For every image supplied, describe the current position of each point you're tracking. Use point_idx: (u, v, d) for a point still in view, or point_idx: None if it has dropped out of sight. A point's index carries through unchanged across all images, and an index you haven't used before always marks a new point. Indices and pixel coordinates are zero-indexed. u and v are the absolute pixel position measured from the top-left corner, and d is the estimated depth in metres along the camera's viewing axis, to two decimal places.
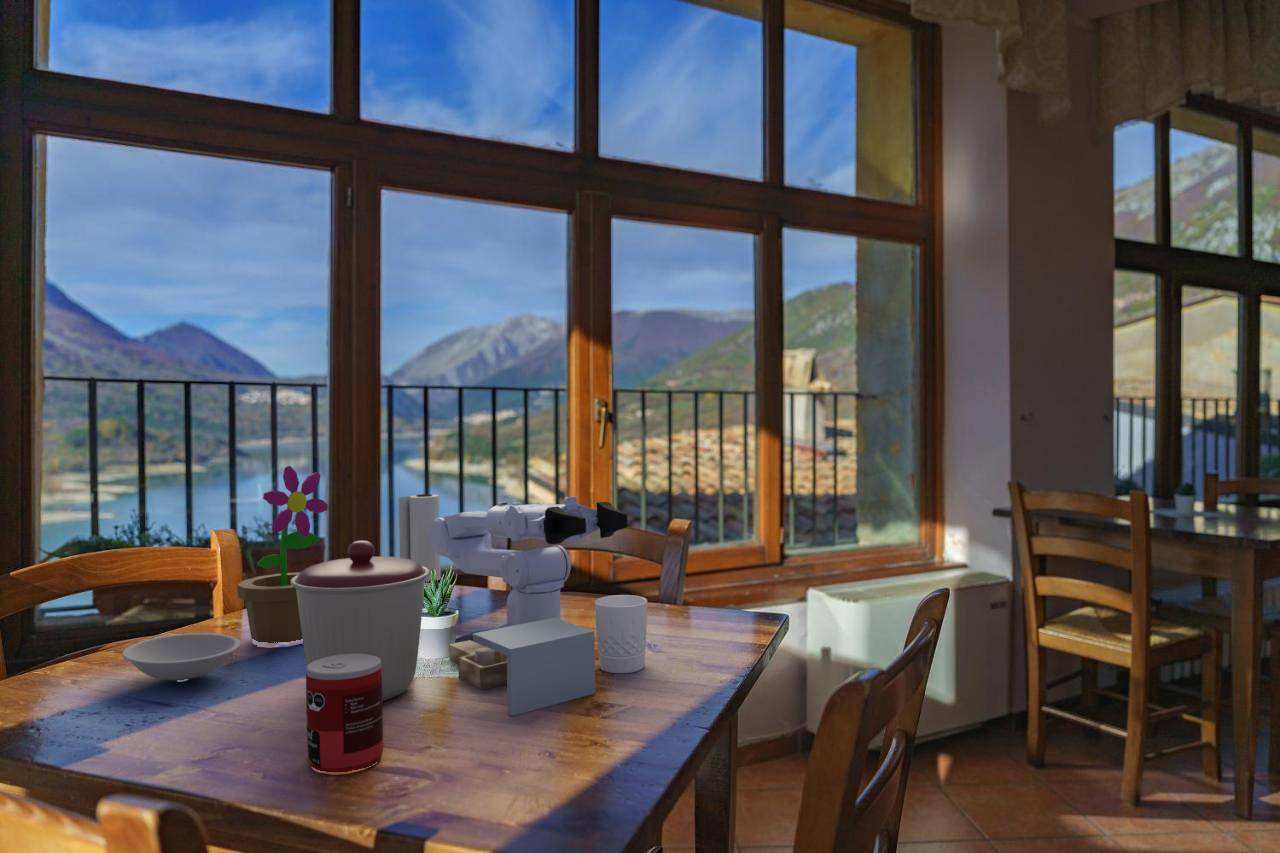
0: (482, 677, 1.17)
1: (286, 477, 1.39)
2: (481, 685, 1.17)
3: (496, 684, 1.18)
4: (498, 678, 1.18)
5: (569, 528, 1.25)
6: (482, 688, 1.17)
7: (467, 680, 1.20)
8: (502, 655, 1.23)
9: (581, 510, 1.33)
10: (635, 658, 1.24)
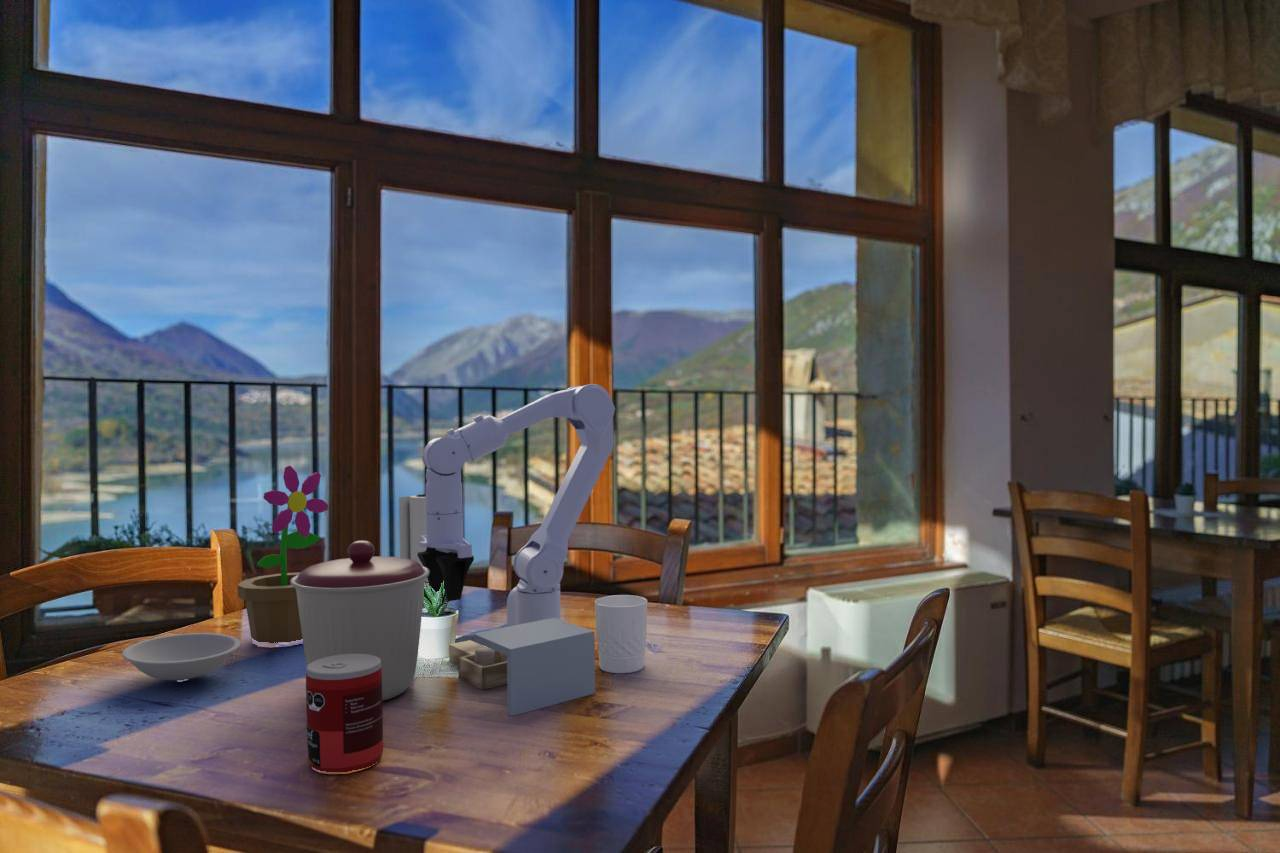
0: (482, 677, 1.17)
1: (286, 477, 1.39)
2: (481, 685, 1.17)
3: (496, 684, 1.18)
4: (498, 678, 1.18)
5: None
6: (482, 688, 1.17)
7: (467, 680, 1.20)
8: (502, 655, 1.23)
9: None
10: (635, 658, 1.24)
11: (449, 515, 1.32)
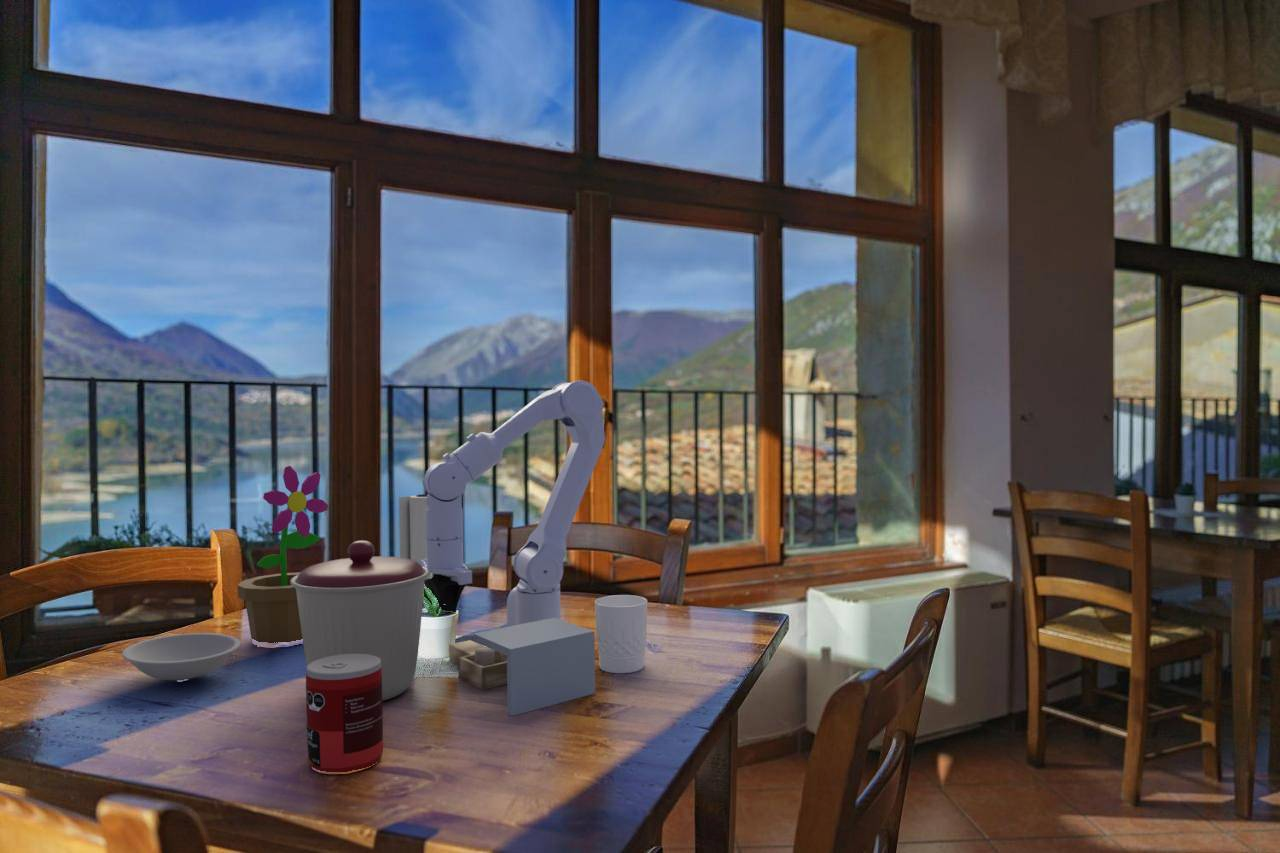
0: (482, 677, 1.17)
1: (286, 477, 1.39)
2: (481, 685, 1.17)
3: (496, 684, 1.18)
4: (498, 678, 1.18)
5: None
6: (482, 688, 1.17)
7: (467, 680, 1.20)
8: (502, 655, 1.23)
9: None
10: (635, 658, 1.24)
11: (449, 541, 1.32)
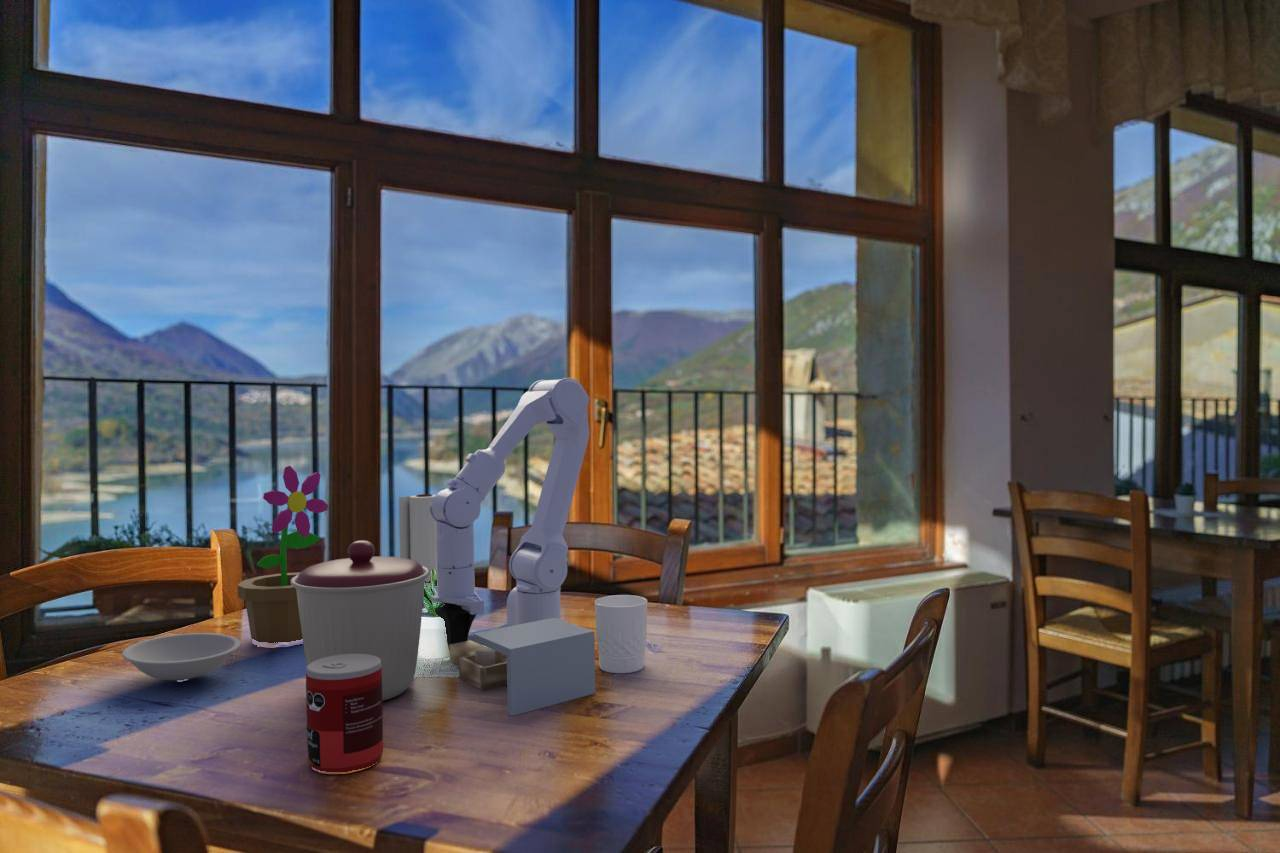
0: (483, 678, 1.17)
1: (286, 477, 1.39)
2: (482, 685, 1.17)
3: (496, 684, 1.18)
4: (498, 678, 1.18)
5: None
6: (482, 688, 1.17)
7: (467, 680, 1.20)
8: (502, 655, 1.22)
9: None
10: (635, 658, 1.24)
11: (460, 569, 1.29)
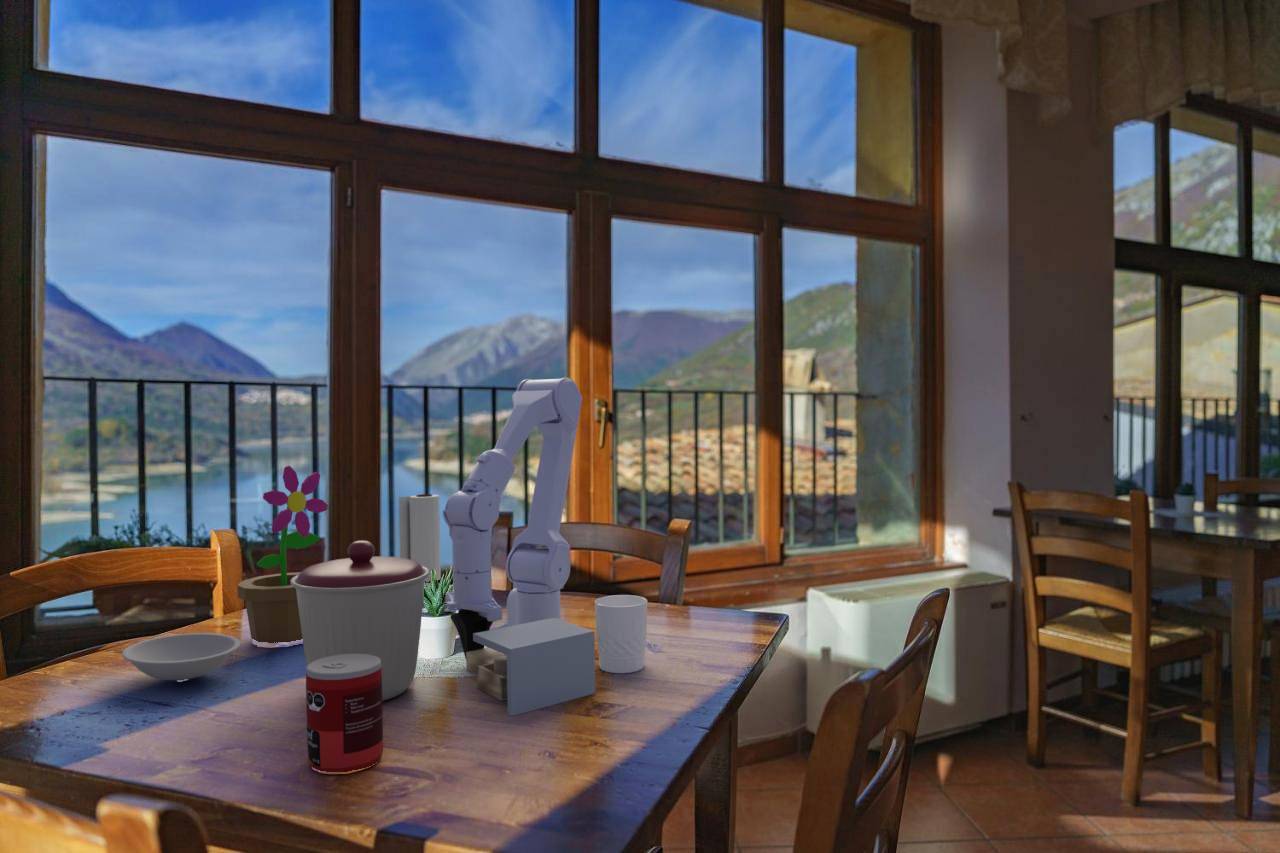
0: (502, 688, 1.12)
1: (286, 477, 1.39)
2: (501, 695, 1.12)
3: None
4: None
5: None
6: (502, 699, 1.12)
7: (486, 690, 1.16)
8: None
9: None
10: (635, 658, 1.24)
11: (477, 574, 1.25)
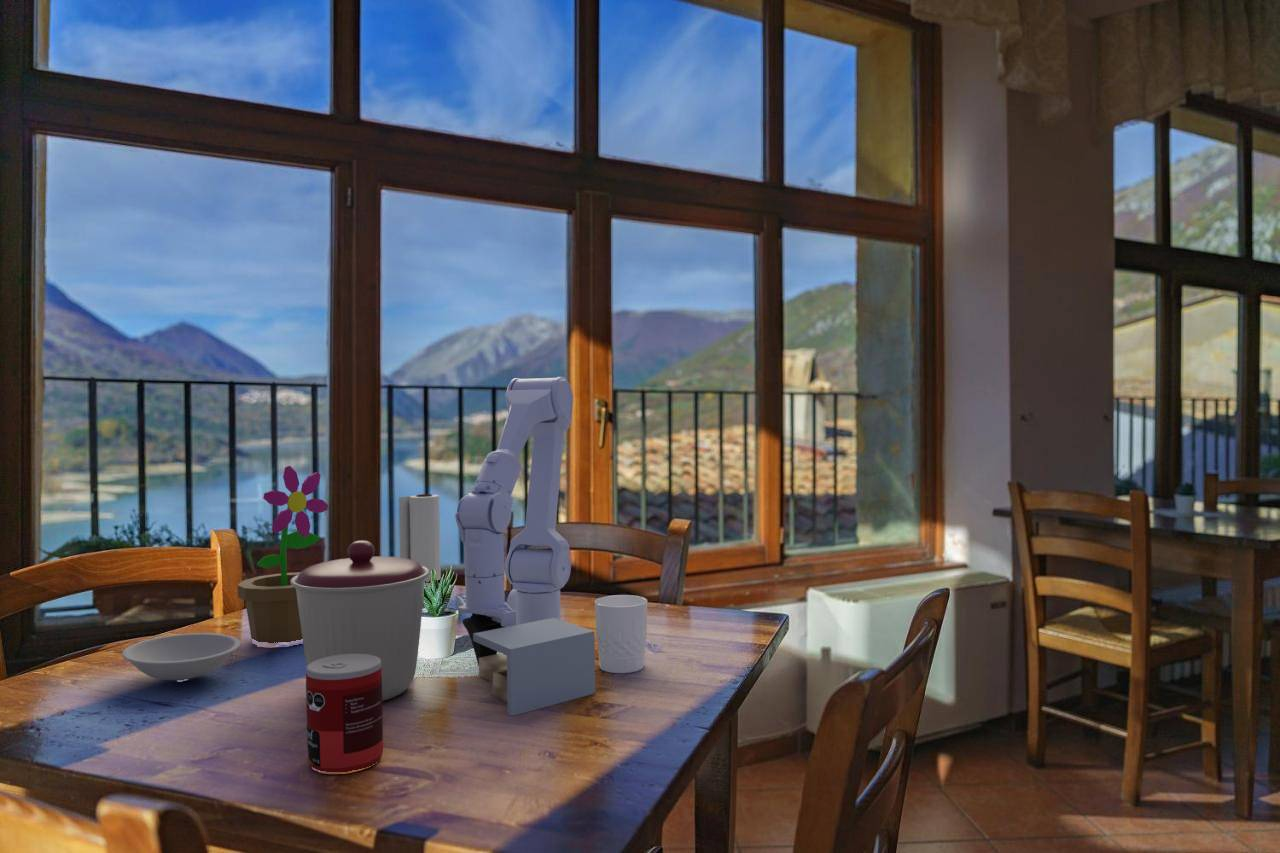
0: None
1: (286, 477, 1.39)
2: None
3: None
4: None
5: None
6: None
7: (500, 697, 1.13)
8: None
9: None
10: (635, 658, 1.24)
11: (490, 578, 1.22)
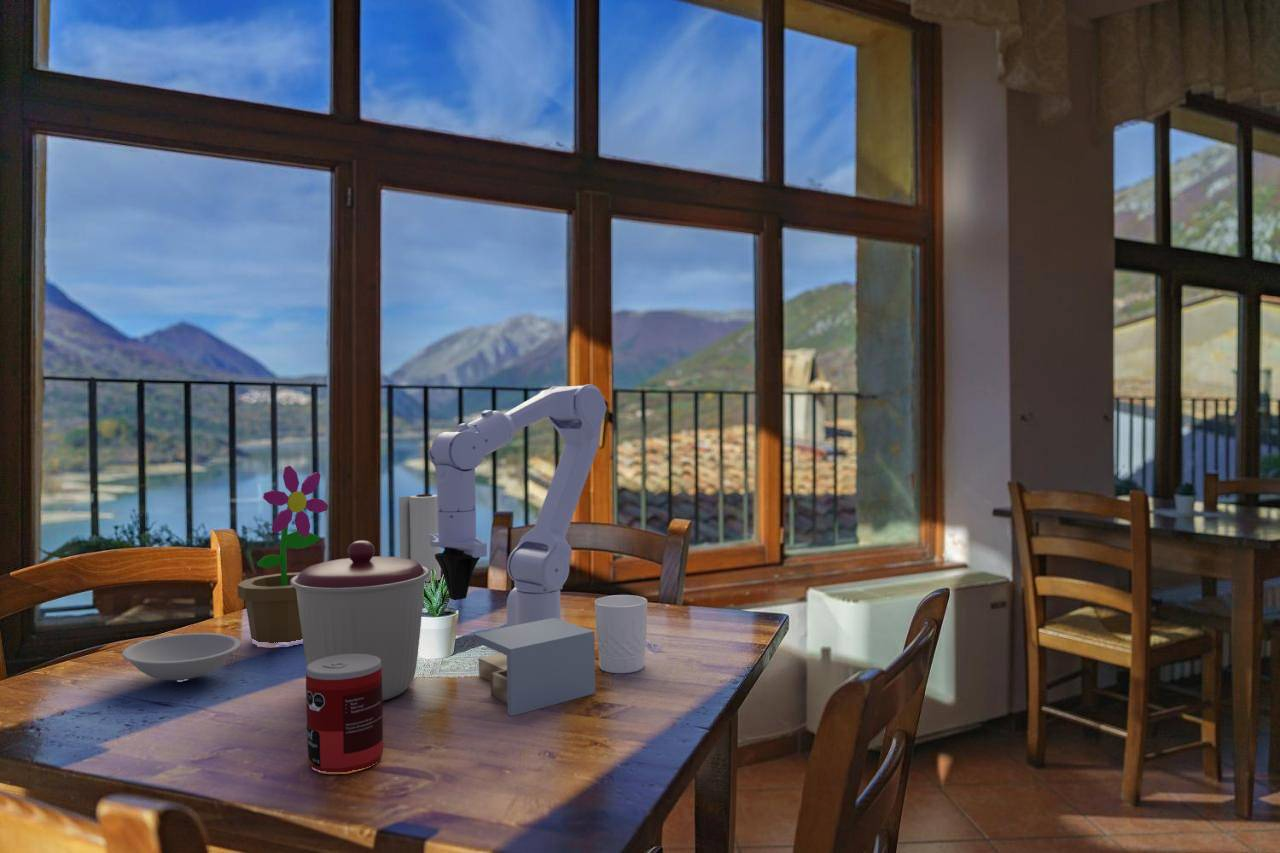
0: None
1: (286, 477, 1.39)
2: None
3: None
4: None
5: None
6: None
7: (501, 697, 1.13)
8: None
9: None
10: (635, 658, 1.24)
11: (462, 513, 1.26)
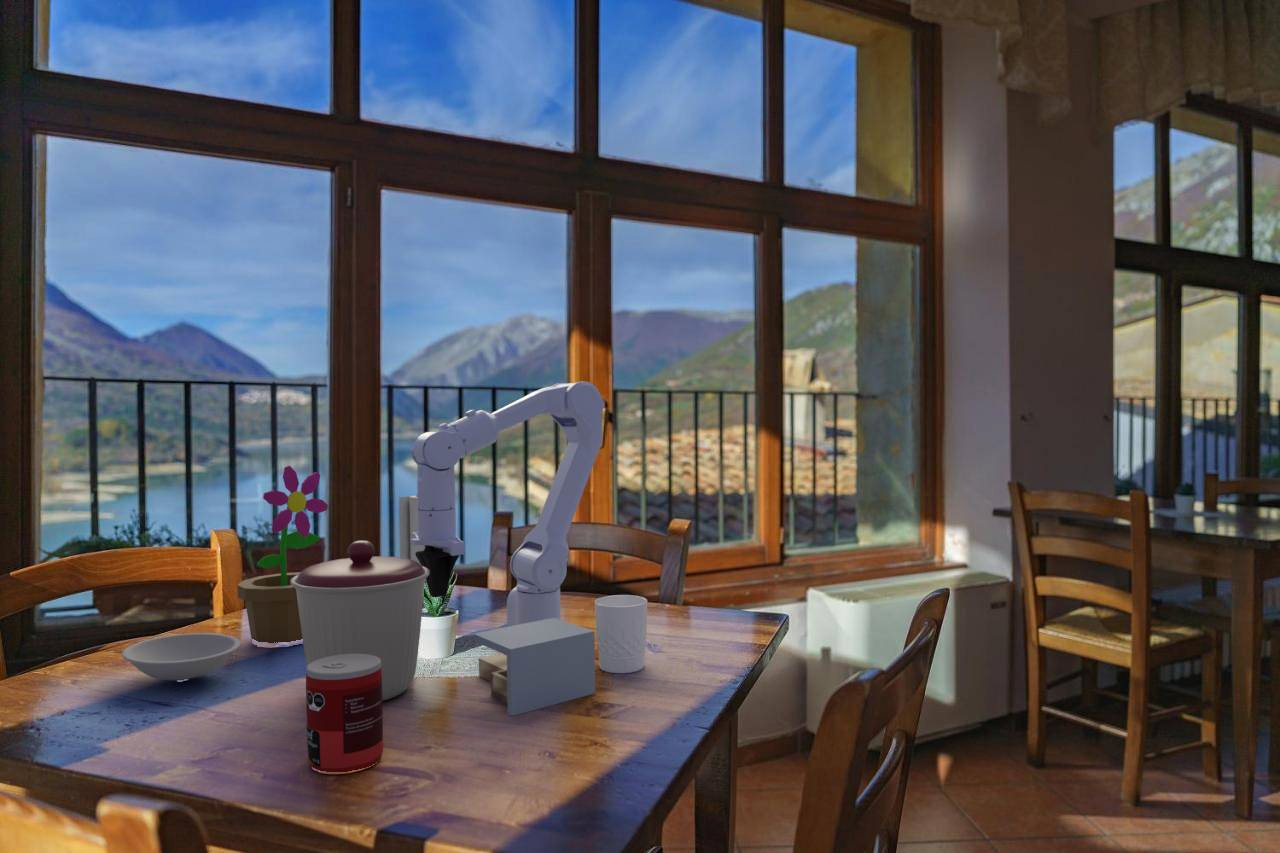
0: None
1: (286, 477, 1.39)
2: None
3: None
4: None
5: None
6: None
7: (501, 697, 1.13)
8: None
9: None
10: (635, 658, 1.24)
11: (441, 511, 1.29)
